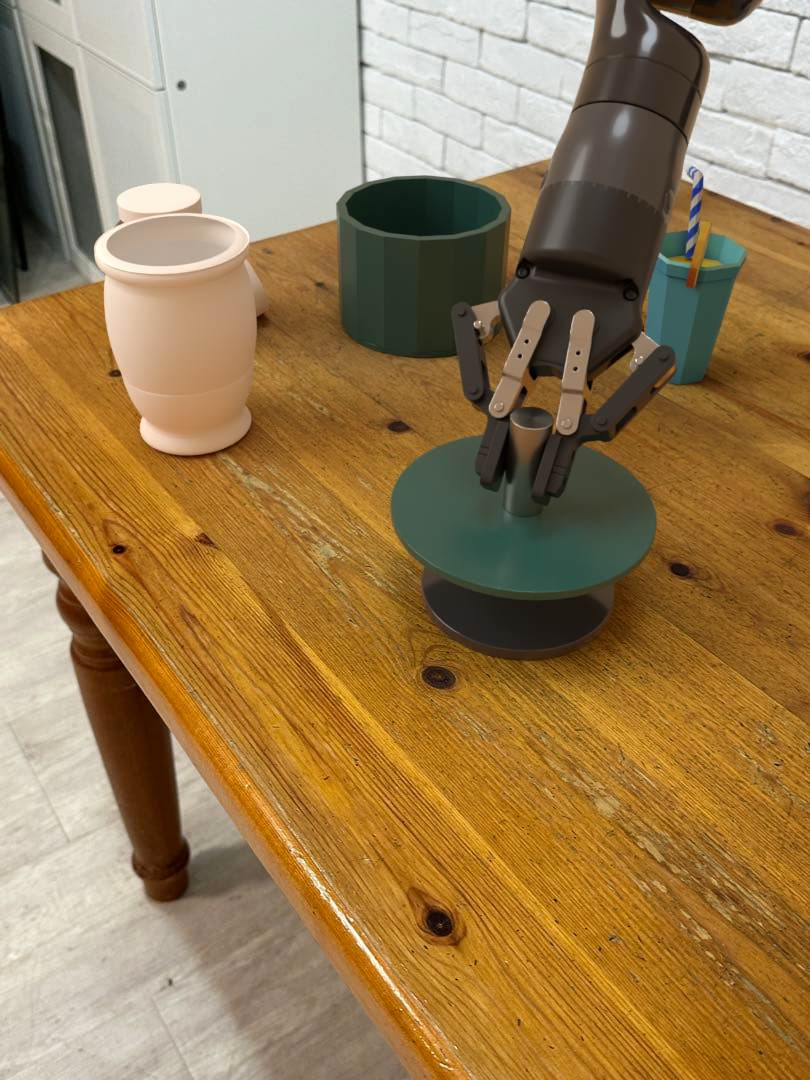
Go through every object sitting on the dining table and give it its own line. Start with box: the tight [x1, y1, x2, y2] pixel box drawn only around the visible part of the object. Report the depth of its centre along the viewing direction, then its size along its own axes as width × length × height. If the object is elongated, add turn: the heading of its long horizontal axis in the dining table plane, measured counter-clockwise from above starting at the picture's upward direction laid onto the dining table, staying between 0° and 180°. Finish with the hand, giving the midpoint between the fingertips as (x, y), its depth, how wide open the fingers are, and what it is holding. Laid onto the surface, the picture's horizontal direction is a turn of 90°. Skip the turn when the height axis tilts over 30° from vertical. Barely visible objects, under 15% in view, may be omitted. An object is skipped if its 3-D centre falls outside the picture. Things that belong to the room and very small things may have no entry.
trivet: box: [420, 566, 615, 661], centre depth 65 cm, size 12×12×1 cm
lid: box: [389, 406, 658, 600], centre depth 60 cm, size 16×16×7 cm
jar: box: [93, 213, 258, 456], centre depth 76 cm, size 11×10×15 cm
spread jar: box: [114, 182, 270, 318], centre depth 91 cm, size 12×11×12 cm
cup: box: [645, 165, 749, 386], centre depth 84 cm, size 14×8×15 cm, turn 176°
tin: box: [335, 174, 512, 358], centre depth 92 cm, size 15×15×10 cm
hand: (513, 493), depth 59 cm, fingers closed on lid, 2 cm apart
